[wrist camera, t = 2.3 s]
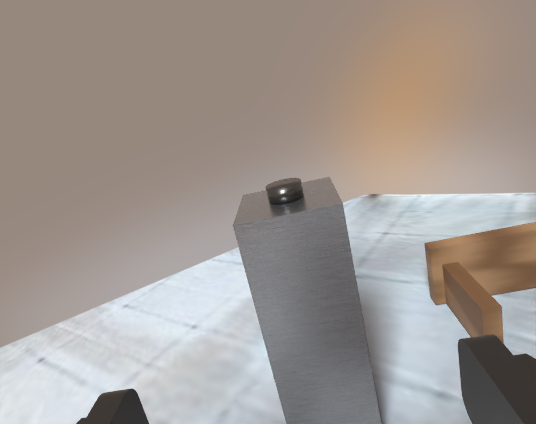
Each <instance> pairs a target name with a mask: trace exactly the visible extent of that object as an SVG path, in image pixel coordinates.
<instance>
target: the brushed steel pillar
mask: <svg viewBox="0 0 536 424" xmlns="http://www.w3.org/2000/svg"><path fill="white" fill-rule="evenodd" d="M233 227H234V231H235V235H236V239H237V242H238V246H239V250H240V253H241V257H242V261H243V264H244V268H245V272H246V276H247V279H248V283H249V287H250V290H251V294H252V298H253V301H254V305H255V309H256V313H257V316H258V320H259V324H260V327H261V331H262V335H263V338H264V342H265V346H266V350H267V353H268V357H269V361H270V364H271V368H272V372H273V375H274V379H275V383H276V387H277V390H278V394H279V398H280V401H281V405H282V409H283V412H284V416H285V420H286V423H287V424H381V418H380V413H379V407H378V401H377V396H376V390H375V384H374V379H373V373H372V367H371V361H370V356H369V350H368V344H367V339H366V333H365V327H364V322H363V316H362V310H361V305H360V299H359V293H358V288H357V282H356V276H355V271H354V265H353V259H352V254H351V248H350V242H349V236H348V231H347V225H346V219H345V214H344V208H343V203H342V201H341V199H340V197H339V195H338V193H337V191H336V189H335V187H334V185H333V183H332V181H331V179H330V177H327V178H323V179H318V180H313V181H308V182H304V183H301V180H300V179H299V178H289V179H283V180H279V181H276V182H273V183H271V184H269V185H267V186H266V191H261V192H257V193H251V194H247V195H243V197H242V200H241V203H240V206H239V209H238V212H237V215H236V218H235V221H234V224H233Z"/></svg>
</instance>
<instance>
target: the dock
mask: <svg viewBox="0 0 536 424" xmlns="http://www.w3.org/2000/svg"><path fill="white" fill-rule="evenodd" d="M425 252H426V261H427V269H428V278H429V287H430V296H431V298H432V300H433V301H434V303H435V304H436V305H438V304H444V303H446V304H447V305H448V306H449V308H450V309H451V310H452V312H453V313H454V315H455V316H456V317H457V319H458V320H459V321H460V323H461V324H462V325H463V327H464V328H465V329H466V331H467V332H468V333H469V335H470V336H471V337H478V336H484V335H491V334H493V335H495V336H497V337H498V338H499V339H500V341H501V342H502V343H503V324H502V306H501V305H500V304H499V303H498V302H497V301H496V300H495V299H494V298H493V297H492V296H491V295H496V294H501V293H507V292H513V291H519V290H524V289H530V288H536V222H533V223H528V224H523V225H518V226H512V227H507V228H502V229H497V230H491V231H486V232H481V233H476V234H470V235H465V236H460V237H455V238H449V239H444V240H439V241H434V242H428V243H425ZM503 344H504V343H503Z"/></svg>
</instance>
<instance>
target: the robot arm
mask: <svg viewBox="0 0 536 424" xmlns="http://www.w3.org/2000/svg"><path fill="white" fill-rule="evenodd" d="M458 353H459V365H460V377H461V390H462V396H463V401H464V404H465V407H466V410H467V413H468V415H469V417H470V420H471V422H472V423H473V424H536V359H535V358H533V357H531V356H529V355H528V354H520V355H514V356H513V355H512V353H511V352H510V351H509V350H508V349H507V348H506V346H505V345H504V344H503V343H502V342H501V341H500V339H499V338H498V337H497V336H495V335H493V334H491V335H484V336H478V337H471V338H465V339H460V340H459V342H458ZM76 424H149V422H148V420H147V417H146V415H145V412H144V409H143V407H142V404H141V401H140V399H139V396H138V394H137V392H136V391H135V390H134V389H126V390H119V391H113V392H106V393H103V394H101V395H100V396H99V397H98V399H97V401H96V402H95V404H94V406H93V407H92V409H91V411H90V412H89V414H88V416H87V418H81V419H80V420H79V421H78V422H77V423H76Z"/></svg>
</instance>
